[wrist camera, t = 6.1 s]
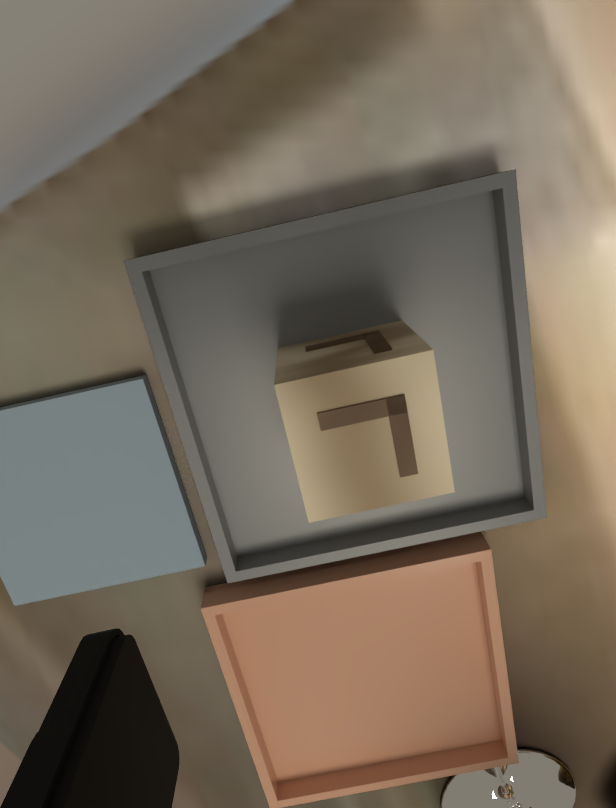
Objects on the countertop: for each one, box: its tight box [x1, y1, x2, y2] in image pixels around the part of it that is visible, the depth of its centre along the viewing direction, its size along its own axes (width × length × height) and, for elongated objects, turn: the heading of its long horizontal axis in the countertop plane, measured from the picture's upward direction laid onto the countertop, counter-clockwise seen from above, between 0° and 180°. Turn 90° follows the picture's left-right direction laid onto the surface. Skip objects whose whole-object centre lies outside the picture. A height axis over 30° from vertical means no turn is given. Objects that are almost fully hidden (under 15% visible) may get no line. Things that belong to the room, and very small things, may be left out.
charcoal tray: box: [124, 169, 547, 583], centre depth 22 cm, size 14×14×2 cm
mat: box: [0, 375, 207, 606], centre depth 24 cm, size 9×9×1 cm
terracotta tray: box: [201, 532, 519, 808], centre depth 27 cm, size 13×13×2 cm
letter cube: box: [274, 320, 455, 523], centre depth 20 cm, size 5×5×5 cm
